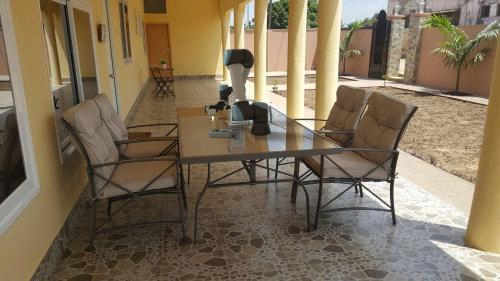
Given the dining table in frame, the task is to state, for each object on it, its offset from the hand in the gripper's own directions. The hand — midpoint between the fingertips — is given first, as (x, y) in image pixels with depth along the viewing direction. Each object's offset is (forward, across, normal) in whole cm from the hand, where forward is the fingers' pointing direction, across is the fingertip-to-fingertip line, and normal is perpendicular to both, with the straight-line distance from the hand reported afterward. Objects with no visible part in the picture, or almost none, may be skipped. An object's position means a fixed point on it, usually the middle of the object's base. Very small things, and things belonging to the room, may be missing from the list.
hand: (215, 109), depth 275 cm
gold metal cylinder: (+10, -2, -18) cm, 21 cm away
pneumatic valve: (-50, +17, -16) cm, 55 cm away
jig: (+10, -6, -18) cm, 21 cm away
